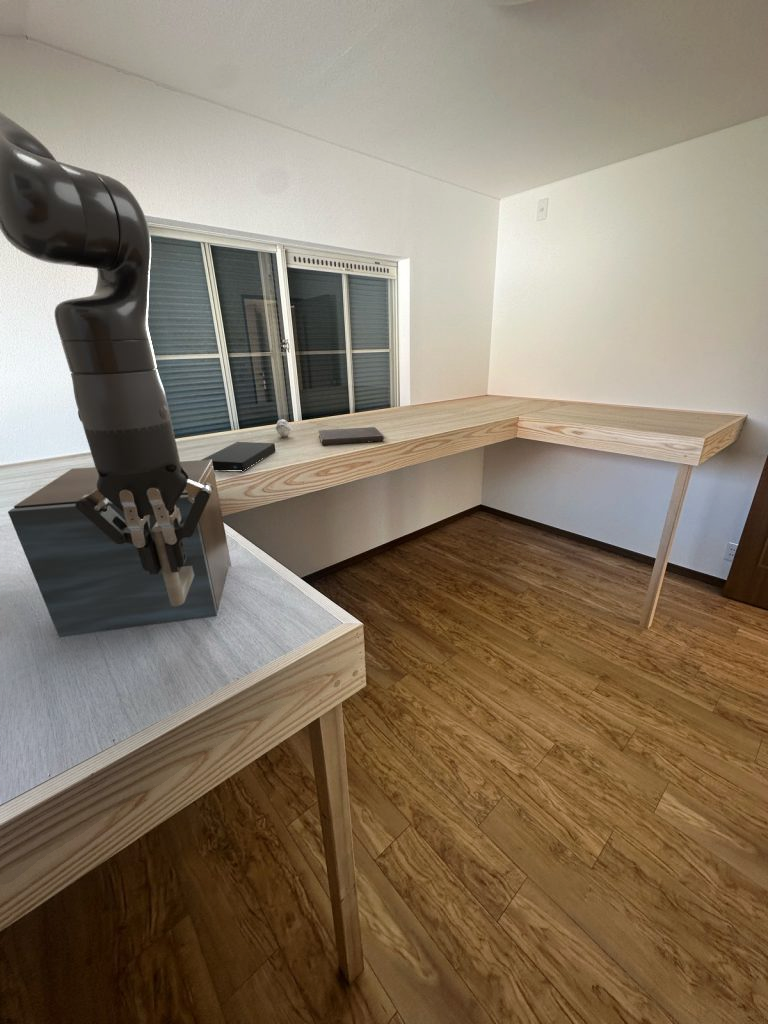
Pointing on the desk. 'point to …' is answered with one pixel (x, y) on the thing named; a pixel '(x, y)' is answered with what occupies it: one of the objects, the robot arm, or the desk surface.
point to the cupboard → (199, 471)
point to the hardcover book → (349, 435)
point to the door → (110, 572)
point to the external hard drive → (240, 455)
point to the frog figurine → (283, 428)
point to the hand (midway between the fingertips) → (166, 569)
